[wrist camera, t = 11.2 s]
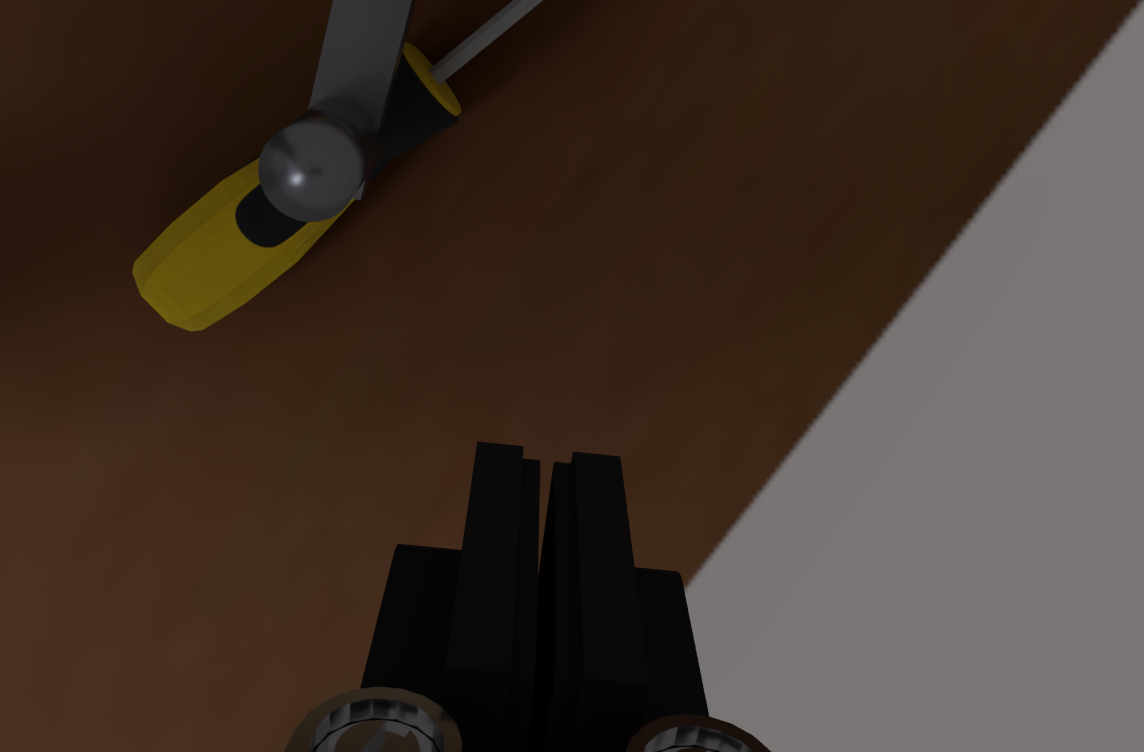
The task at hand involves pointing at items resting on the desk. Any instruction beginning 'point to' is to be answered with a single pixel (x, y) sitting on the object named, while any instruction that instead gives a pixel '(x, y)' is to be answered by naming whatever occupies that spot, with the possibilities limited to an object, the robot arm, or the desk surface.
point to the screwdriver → (267, 236)
